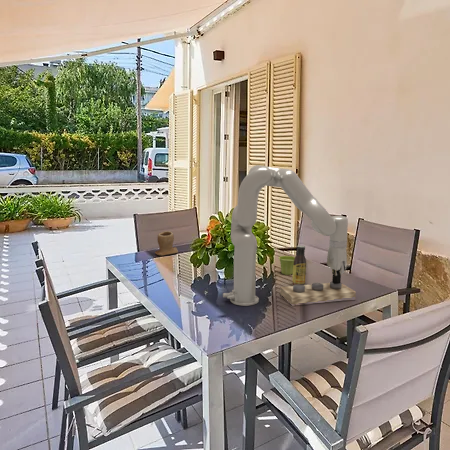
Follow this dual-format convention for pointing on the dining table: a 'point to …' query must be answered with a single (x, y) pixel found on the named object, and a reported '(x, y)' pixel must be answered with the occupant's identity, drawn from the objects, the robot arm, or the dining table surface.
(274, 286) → the dining table surface
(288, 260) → the plant pot
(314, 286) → the middle knob
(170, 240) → the stone cup
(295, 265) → the sauce bottle
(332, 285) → the far knob
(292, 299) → the knob mount
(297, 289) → the near knob
